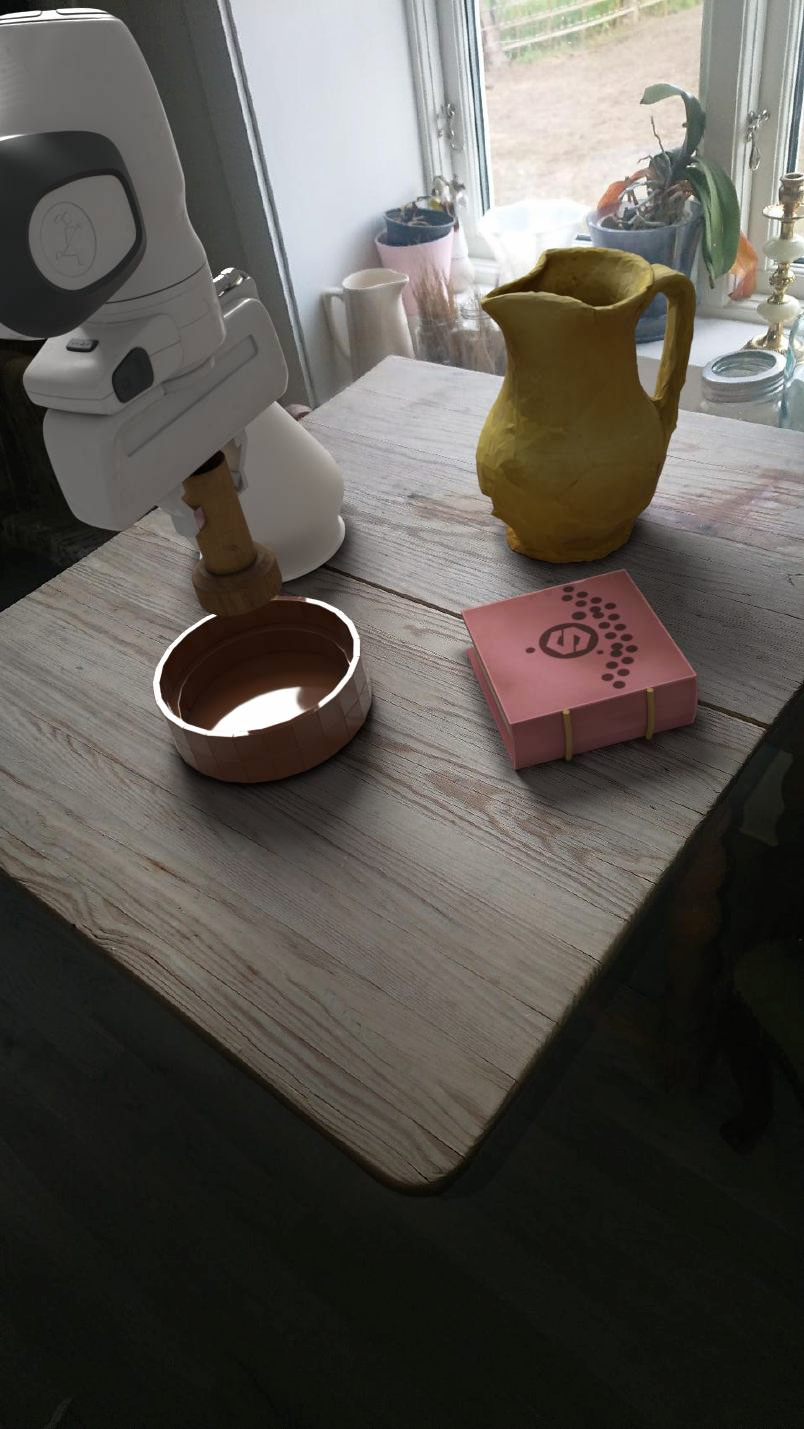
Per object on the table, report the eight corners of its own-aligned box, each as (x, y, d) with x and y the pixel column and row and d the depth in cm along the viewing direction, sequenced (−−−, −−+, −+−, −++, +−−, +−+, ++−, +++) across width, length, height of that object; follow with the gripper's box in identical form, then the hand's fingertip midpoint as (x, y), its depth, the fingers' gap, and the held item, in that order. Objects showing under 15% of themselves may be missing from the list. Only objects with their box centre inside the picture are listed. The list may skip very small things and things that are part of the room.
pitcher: (498, 475, 105) (488, 233, 87) (677, 485, 100) (706, 231, 82) (462, 575, 94) (443, 321, 76) (662, 592, 89) (691, 325, 71)
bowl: (303, 814, 75) (285, 760, 71) (135, 757, 82) (110, 706, 78) (408, 671, 85) (397, 617, 81) (249, 632, 92) (232, 581, 88)
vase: (186, 606, 97) (94, 365, 80) (197, 513, 110) (119, 288, 92) (358, 575, 96) (303, 325, 79) (349, 485, 109) (299, 253, 92)
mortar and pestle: (230, 559, 78) (156, 341, 66) (298, 571, 76) (235, 346, 63) (183, 610, 74) (95, 387, 62) (253, 624, 72) (176, 395, 59)
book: (518, 778, 74) (513, 732, 71) (467, 655, 85) (460, 610, 82) (698, 730, 75) (702, 682, 71) (624, 614, 86) (624, 568, 82)
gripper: (209, 254, 68) (259, 435, 77) (0, 392, 56) (89, 586, 65) (283, 257, 65) (325, 444, 75) (80, 403, 53) (161, 603, 63)
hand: (214, 511), depth 70 cm, fingers closed on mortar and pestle, 4 cm apart
